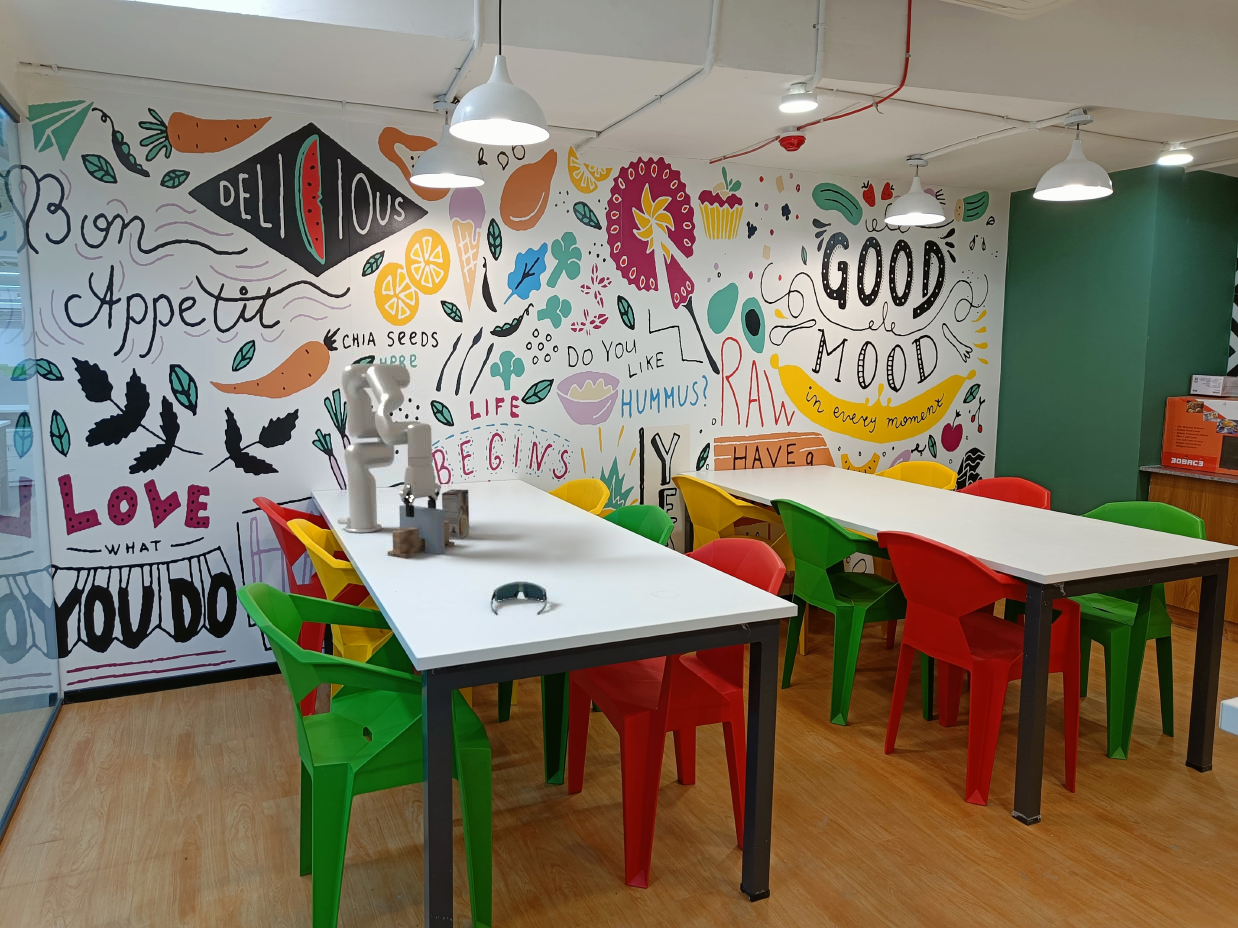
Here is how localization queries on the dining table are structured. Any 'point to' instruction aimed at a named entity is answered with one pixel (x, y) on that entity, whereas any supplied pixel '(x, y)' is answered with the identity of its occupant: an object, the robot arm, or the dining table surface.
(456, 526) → the coffee box
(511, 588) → the sunglasses
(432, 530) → the slate grey plank
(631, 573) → the dining table surface
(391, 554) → the slotted base board
